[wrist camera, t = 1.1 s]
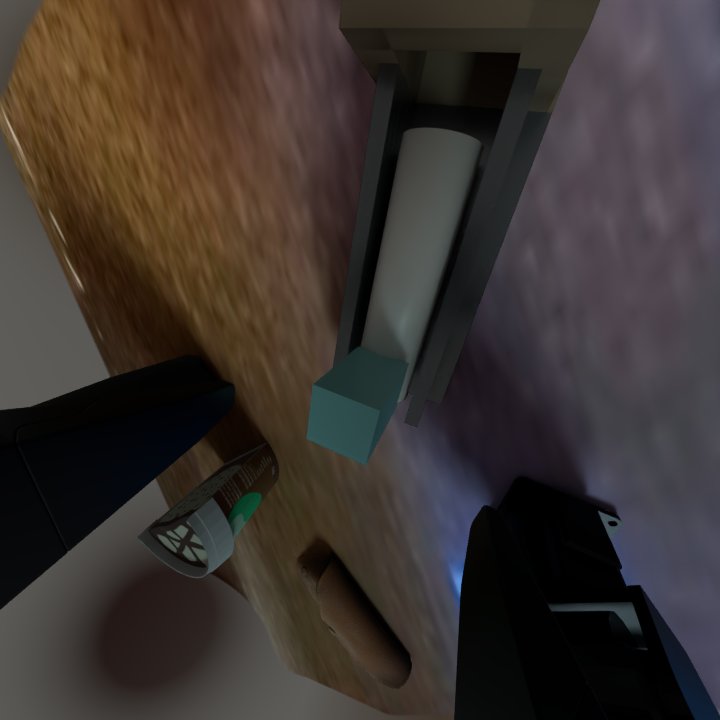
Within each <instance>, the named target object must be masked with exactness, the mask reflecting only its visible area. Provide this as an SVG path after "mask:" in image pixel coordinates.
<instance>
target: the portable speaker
mask: <svg viewBox="0 0 720 720" xmlns="http://www.w3.org/2000/svg"><path fill="white" fill-rule="evenodd" d="M202 365H203V362H202V360H201V359H200V357H197V356H191V355H184V356H181V357H179V358H176V359H173V360H168V361H165V362H161V363H158V364H154V365H151V366H148V367H144V368H141V369H137V370H134V371H131V372H127V373H124V374H120V375H117V376H114V377H110V378H108V379H105V380H102V381H100V382H97V383H94V384H92V385H89V386H86V387H83V388H80V389H78V390H75V391H72V392H70V393H67V394H64V395H62V396H59V397H56V398H53V399H50V400H48V401H45V402H42V403H40V404H37V405H34V406H31V407H35V406H44V405H53V404H61V403H69V402H76V401H83V400H90V399H97V398H98V399H100V398H104V397H111V396H118V395H124V394H131V393H138V392H145V391H152V390H158V389H165V388H172V387H179V386H186V385H192V384H199V383H206V382H213V381H214V380H213V379H212V378H211V377H210V376H209V374H208V373H207V372H206V371H205V370H204V368H203V367H202Z"/></svg>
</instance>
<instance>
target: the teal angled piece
mask: <svg viewBox="0 0 720 720" xmlns="http://www.w3.org/2000/svg"><path fill="white" fill-rule="evenodd" d="M483 150H484V145H483V144H482V143H481V142H480V141H479V140H477V139H475V138H473V137H471V136H469V135H466V134H463V133H460V132H456V131H451V130H446V129H439V128H414V129H410V130H407V131H405V132H404V133H403V136H402V141H401V146H400V151H399V156H398V161H397V166H396V171H395V176H394V181H393V186H392V191H391V196H390V201H389V206H388V211H387V216H386V221H385V226H384V231H383V236H382V241H381V247H380V252H379V257H378V262H377V267H376V272H375V277H374V282H373V287H372V292H371V297H370V302H369V307H368V312H367V317H366V322H365V327H364V332H363V337H362V342H361V347H359V346H358V347H357V348H356V349H355V350H354V351H352V352H351V353H350V354H349V355H348V356H346V357H345V358H344V359H343V360H342V361H340V362H339V363H338V364H337V365H336V366H334V367H333V368H332V369H331V370H330V371H329V372H327V373H326V374H325V375H324V376H323V377H321V378H320V379H319V380H318V381H317V382H315V383H314V384H313V389H312V397H311V405H310V413H309V422H308V430H307V438H306V439H308V440H311V441H313V442H315V443H317V444H319V445H321V446H324V447H326V448H328V449H330V450H332V451H335V452H337V453H339V454H341V455H343V456H345V457H348V458H350V459H352V460H354V461H356V462H359V463H361V464H363V465H365V466H366V464H367V462H368V460H369V458H370V456H371V454H372V453H373V451H374V449H375V447H376V445H377V443H378V441H379V439H380V437H381V435H382V433H383V431H384V430H385V428H386V426H387V424H388V422H389V420H390V418H391V416H392V414H393V412H394V410H395V408H396V406H397V403H399V402H401V401H403V400H405V399H406V397H407V395H408V392H409V389H410V385H411V382H412V379H413V376H414V373H415V369H416V366H417V363H418V360H419V356H420V353H421V350H422V347H423V343H424V340H425V337H426V334H427V331H428V327H429V324H430V321H431V318H432V314H433V311H434V308H435V305H436V301H437V298H438V295H439V292H440V289H441V285H442V282H443V279H444V276H445V272H446V269H447V266H448V263H449V259H450V256H451V253H452V250H453V247H454V243H455V240H456V237H457V234H458V230H459V227H460V224H461V221H462V217H463V214H464V211H465V208H466V205H467V201H468V198H469V195H470V192H471V188H472V185H473V182H474V179H475V175H476V172H477V169H478V166H479V163H480V159H481V156H482V153H483Z"/></svg>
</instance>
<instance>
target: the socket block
mask: <svg viewBox="0 0 720 720" xmlns="http://www.w3.org/2000/svg"><path fill="white" fill-rule="evenodd" d="M599 2H600V0H342V4H341V13H340V23H339V29H340V30H341V32H342V33H343V35H344V36H345V38H346V39H347V41H348V42H349V44H350V45H351V47H352V48H353V50H354V51H355V53H356V54H357V56H358V58H359V59H360V61H361V62H362V64H363V65H364V67H365V68H366V70H367V71H368V73H369V74H370V76H371V77H372V79H373V80H374V82H375V83H376V85H377V78H378V72H379V65H380V63H395V64H399V65H400V67H401V70H402V72H403V74H404V76H405V78H406V80H407V83H408V85H409V87H410V89H411V91H412V94H413V96H414V98H415V100H416V102H417V103H430V104H443V105H457V106H470V107H483V108H497V109H505V106H506V103H507V100H508V97H509V94H510V91H511V87H512V84H513V81H514V78H515V75H516V72H517V69H518V68H529V69H542V72H541V75H540V77H539V80H538V83H537V86H536V89H535V92H534V95H533V97H532V100H531V103H530V106H529V109H528V111H536V112H550V113H552V112H553V109H554V106H555V104H556V101H557V98H558V96H559V93H560V91H561V88H562V85H563V83H564V80H565V77H566V75H567V72H568V70H569V68H570V66H571V64H572V62H573V60H574V58H575V56H576V54H577V52H578V50H579V48H580V46H581V44H582V42H583V40H584V38H585V36H586V34H587V32H588V30H589V28H590V25H591V22H592V20H593V17H594V15H595V12H596V9H597V7H598V4H599Z"/></svg>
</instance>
